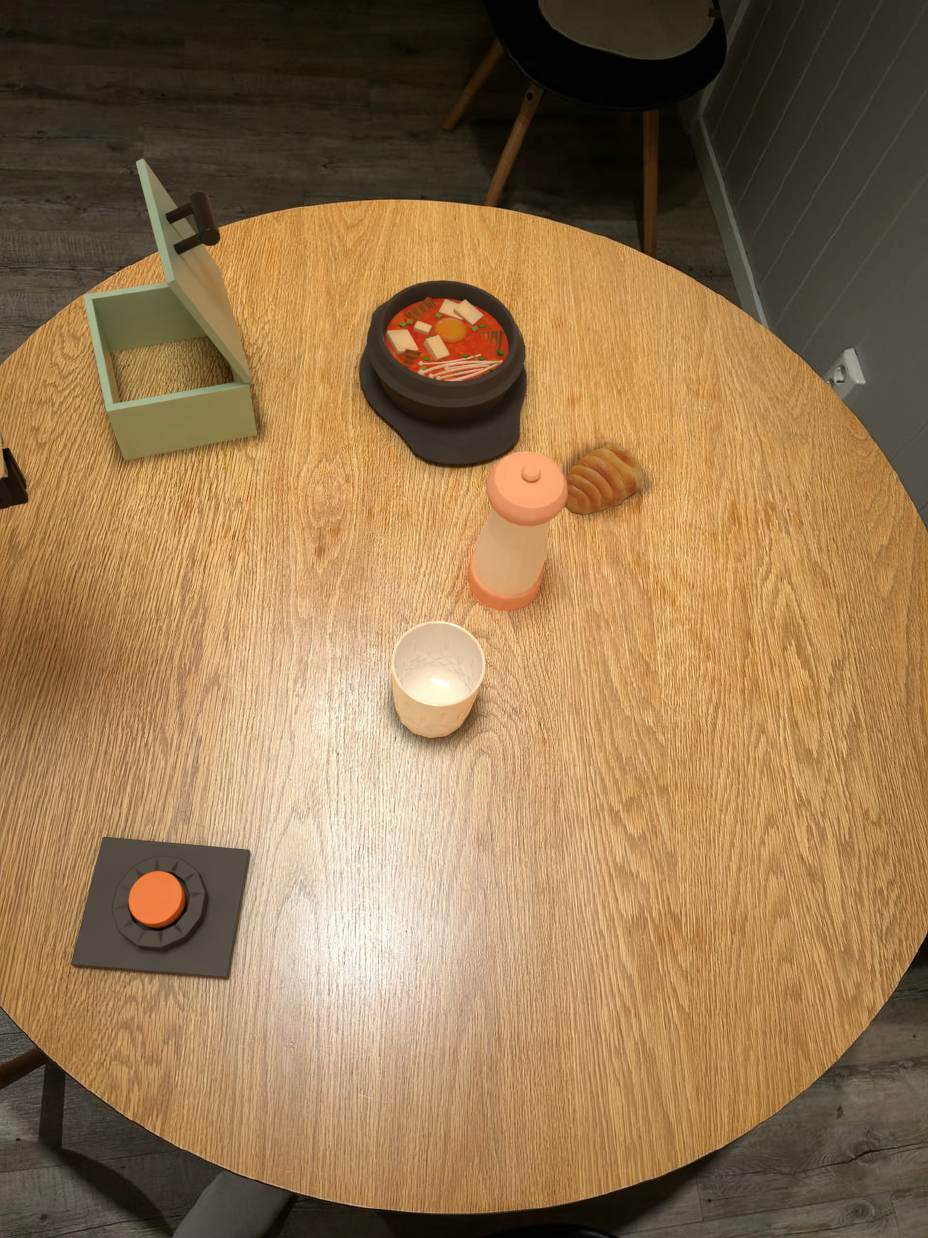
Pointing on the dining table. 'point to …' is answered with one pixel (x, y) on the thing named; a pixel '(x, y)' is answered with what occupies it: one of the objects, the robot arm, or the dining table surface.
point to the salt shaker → (516, 530)
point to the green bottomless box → (171, 416)
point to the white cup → (436, 677)
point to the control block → (186, 943)
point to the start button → (157, 899)
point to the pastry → (603, 480)
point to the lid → (194, 264)
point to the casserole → (446, 371)
